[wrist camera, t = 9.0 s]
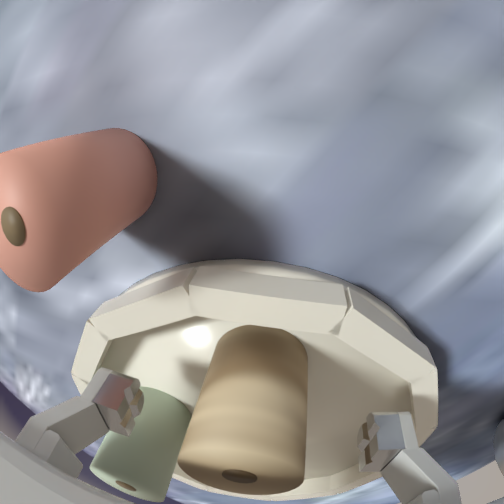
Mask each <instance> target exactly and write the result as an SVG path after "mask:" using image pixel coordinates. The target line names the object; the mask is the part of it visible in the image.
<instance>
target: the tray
mask: <svg viewBox="0 0 504 504" xmlns="http://www.w3.org/2000/svg"><path fill="white" fill-rule="evenodd" d="M243 325H257V326H264V327H271V328H279V329H283V330H285V331H287V332H289V333H291V334H292V335H294V336H295V337H296V338H297V339H298V340H299V341H300V342H301V343H302V344H303V346H304V347H305V349H306V352H307V356H308V397H307V434H306V458H305V476H304V482H303V483H302V484H301V485H300V486H299V487H297V488H296V489H293V490H291V491H288V492H284V493H280V494H272V495H247V494H239V493H233V492H228V491H224V490H220V489H217V488H213V487H211V486H208V485H205V484H203V483H201V482H199V481H197V480H195V479H193V478H192V477H190V476H189V475H187V474H186V473H185V472H184V471H183V470H182V469H181V468H180V467H179V465H178V462H177V463H176V466H175V469H174V472H173V475H172V478H175V479H177V480H179V481H182V482H184V483H187V484H189V485H192V486H194V487H197V488H199V489H202V490H207V491H209V492H214V493H219V494H224V495H230V496H236V497H243V498H250V499H258V500H267V501H271V500H273V501H282V500H296V499H306V498H315V497H323V496H330V495H336V494H337V493H339V494H340V493H343V492H346V491H348V490H351V489H354V488H356V487H359V486H361V485H364V484H366V483H369V482H371V481H373V480H376V479H378V478H380V477H382V475H381V473H380V472H359V462H358V457H359V455H360V454H361V453H362V452H361V451H360V450H359V448H358V447H357V436H358V432H359V429H360V427H361V425H362V424H364V423H365V422H367V420H366V417H367V416H368V414H369V413H371V412H406V411H407V412H410V414H411V416H412V420H413V425H414V429H415V433H416V437H417V442H418V446H419V447H420V446H421V445H422V444H423V443H424V442H425V441H426V439H427V438H428V437H429V436H430V435H431V434H432V433H433V432H434V430H435V429H436V426H438V375H437V368H436V366H435V363H434V361H433V358H432V356H431V354H430V351H429V349H428V347H427V346H426V345H425V344H423V343H422V342H421V341H419V340H418V339H417V338H416V336H415V335H414V333H413V332H412V331H411V329H410V328H409V326H408V325H407V324H406V322H405V321H404V320H403V319H402V318H401V317H400V316H399V315H398V314H397V313H396V312H395V311H394V310H392V309H391V308H390V307H389V306H388V305H387V304H386V303H384V302H383V301H381V300H379V299H378V298H376V297H375V296H373V295H372V294H370V293H369V292H367V291H366V290H364V289H362V288H360V287H357V286H355V285H353V284H351V283H349V282H347V281H345V280H342V279H340V278H338V277H335V276H332V275H329V274H326V273H322V272H319V271H316V270H313V269H310V268H306V267H301V266H296V265H290V264H285V263H280V262H275V261H262V260H248V259H226V260H206V261H201V262H195V263H189V264H183V265H178V266H175V267H172V268H169V269H166V270H163V271H160V272H156V273H154V274H152V275H150V276H148V277H146V278H144V279H142V280H140V281H138V282H136V283H134V284H133V285H131V286H130V287H129V288H128V289H126V290H125V291H124V292H122V293H121V294H120V295H119V296H118V297H115V298H113V299H110V300H108V301H105V302H103V304H101V306H100V307H99V308H98V309H97V310H96V311H95V312H94V314H93V315H92V316H91V317H90V318H89V319H88V320H87V322H86V325H85V328H84V331H83V334H82V337H81V340H80V344H79V347H78V350H77V353H76V357H75V360H74V364H73V367H72V371H71V373H72V377H73V380H74V382H75V384H76V386H77V388H78V390H79V392H80V394H81V395H82V393H83V392H84V390H85V389H86V387H87V386H88V384H89V383H90V381H91V380H92V378H93V377H94V375H95V374H96V372H97V371H98V369H100V368H101V367H104V368H107V369H110V370H113V371H116V372H119V373H122V374H125V375H128V376H131V377H134V378H138V379H139V381H140V384H141V385H140V387H141V386H142V387H150V388H154V389H158V390H160V391H163V392H165V393H167V394H169V395H171V396H173V397H175V398H176V399H178V400H179V401H180V402H181V403H183V404H184V405H185V406H186V407H187V409H188V410H189V412H190V414H191V417H192V414H193V412H194V409H195V406H196V403H197V400H198V397H199V394H200V391H201V388H202V385H203V382H204V380H205V377H206V374H207V371H208V368H209V365H210V362H211V359H212V356H213V353H214V351H215V348H216V345H217V343H218V341H219V339H220V338H221V337H222V336H223V335H224V334H225V333H227V332H228V331H230V330H232V329H234V328H236V327H239V326H243ZM106 434H107V433H106Z"/></svg>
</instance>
